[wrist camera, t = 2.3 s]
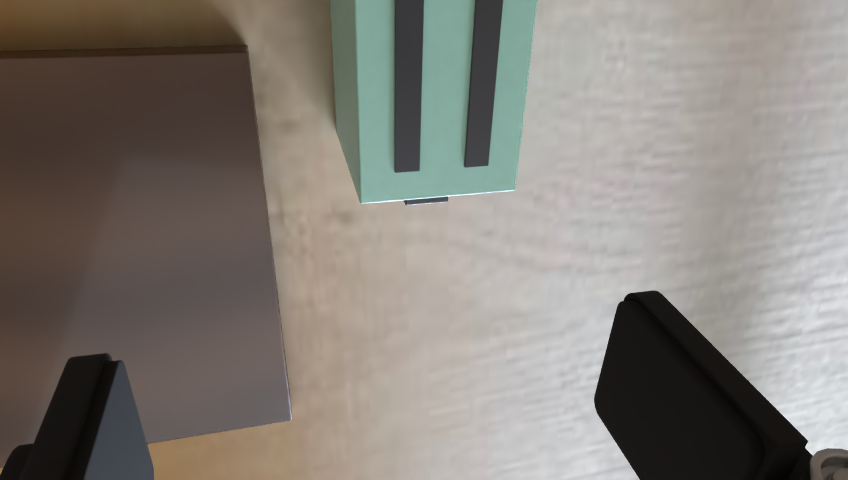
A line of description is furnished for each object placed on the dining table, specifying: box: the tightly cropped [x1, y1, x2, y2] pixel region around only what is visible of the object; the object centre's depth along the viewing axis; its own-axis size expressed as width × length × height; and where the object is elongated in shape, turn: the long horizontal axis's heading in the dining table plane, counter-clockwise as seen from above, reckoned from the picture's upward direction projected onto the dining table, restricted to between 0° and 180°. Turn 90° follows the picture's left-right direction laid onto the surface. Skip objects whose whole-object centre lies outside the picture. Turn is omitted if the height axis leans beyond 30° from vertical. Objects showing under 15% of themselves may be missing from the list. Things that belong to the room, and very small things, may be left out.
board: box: [0, 45, 292, 468], centre depth 27 cm, size 21×19×1 cm
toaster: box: [330, 0, 537, 205], centre depth 23 cm, size 10×6×8 cm, turn 179°
